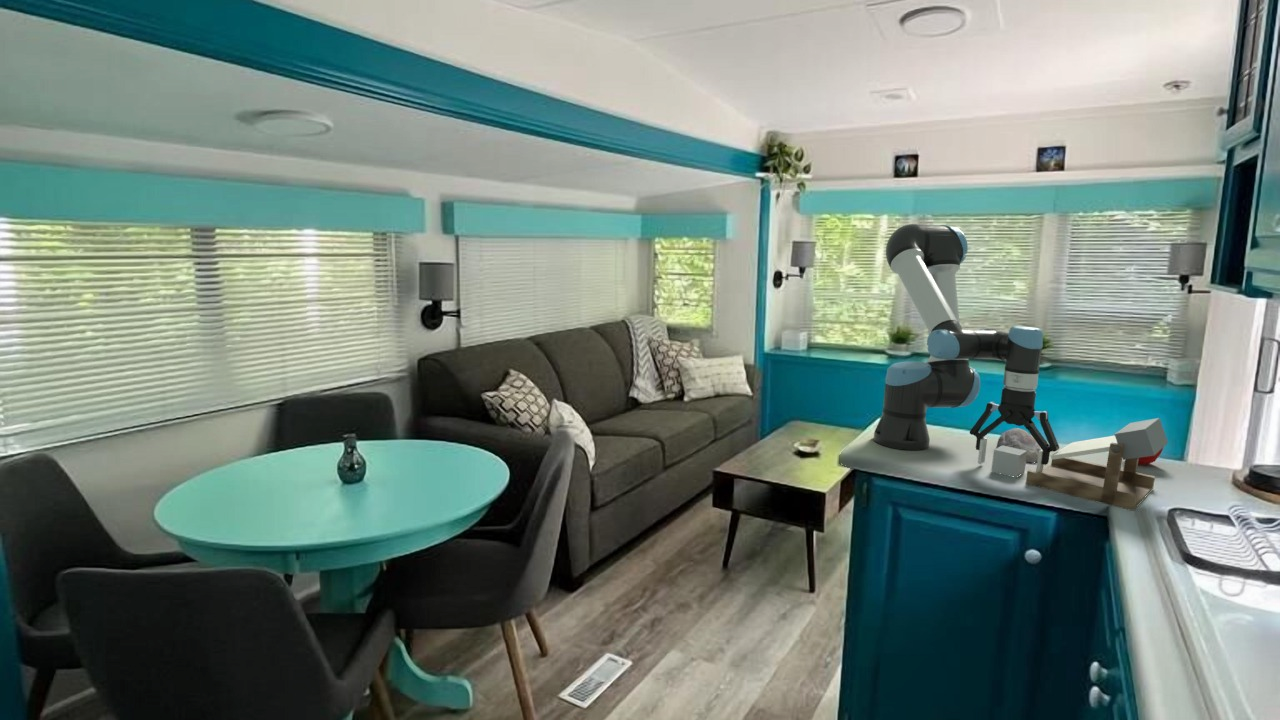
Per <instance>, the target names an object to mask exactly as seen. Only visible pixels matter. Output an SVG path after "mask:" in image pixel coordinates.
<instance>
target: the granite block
mask: <svg viewBox="0 0 1280 720" xmlns="http://www.w3.org/2000/svg"><path fill="white" fill-rule="evenodd" d="M1026 458H1027V451H1026V450H1021V449H1017V448H1012V447H1008V446H1003V445H1002V446H1000V447H998V448H995V449H994V450H993V455H992V464H991V469H990V472H991V471H992V472H991V473H994V472H996V473H995V474H998V473H1001V474H1000V475H1002V474H1005V475H1004V476H1006V475H1010V476H1014V477H1017V476H1019V475H1020V474H1022V473H1024V474H1025V471H1026V464H1027V462H1026ZM1022 475H1023V474H1022ZM1010 476H1009V477H1010ZM1020 476H1021V475H1020ZM1020 476H1019V477H1020ZM1014 477H1013V478H1014ZM1017 478H1018V477H1017Z"/></svg>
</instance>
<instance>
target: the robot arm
mask: <svg viewBox="0 0 1280 720" xmlns="http://www.w3.org/2000/svg"><path fill="white" fill-rule="evenodd" d="M968 249H969V247H968V240H967V238H966V235H965V234H964V232H963V231H962V230H961V229H959V228H958V227H956V226H950V225H947V224H940V225H938V224H935V225H934V224H916V223H910V224H905V225H902V226H900V227H898V228H897V229H896V230H894V232H892V234H891V235H890V236H889V238H888V240H887V243H886V248H885V257H886V261H887V264H888V266H889V267H890V270H891V271H892V273H894V274H896V275H898V276H899V278H900V280H901V282H902V284H903V286H904V288H905V289H906V291H907V293H908V295H909V297H910V298H911V300H912V302H913V304H914V306H915V308H916V309H917V312H918V314H919V316H920V317H921V318H922V321H923V323H924V325H925V326H926V329H927V331H928V333H927V334H928V337H927V338H926V345H927V351H928V353H929V354H930V356H929V358H928V359H927V360H926V361H925V362H924V361H899V362H895V363H893V364H891V365H890V366H889V367H887V370H886V376H885V379H884V382H885V386H884V395H883V403H882V404H883V405H882V414H881V416H880V419H879V420H878V423H877V426H876V427H875V430H874V432H873V440H874V442H875V443H877V444H879V445H881V446H884V447H887V448H888V447H889V448H891V449H892V448H893V449H898V450H905V451H920V450H927V449H929V446H930V435H929V431H928V426H927V421H926V418H927V417H926V415H927V409H928V408H929V409H930V408H951V409H955V408H958V407H967V406H969V405H971V404H972V403H973V402H974V401H975V399H976V398H977V397H978V395H979V393H980V391H981V390H980V389H981V378H980V374H979V373H978V372H977V370H976V369H975V368H973V367H972V366H970V362H969V361H970V360H997V361H1002V362H1005V365H1004V371H1003V373H1004V374H1003V382H1002V385H1003V386H1004V387H1002V390H1001V397H1000V398H1001V399H1000V404H998V403H997V404H996V403H995V401H990V402H988V403H987V404H986V406H985V410H984V412H982V414H981V416H980V417H979V418H978V420H977V421H976V422H975V424H974V425H973V426H972V428H971V429H970V430H969V434H970V435H972V436H974V437H975V438H976V441H975V443H976V444H975V450H976V451H978V457H977V464H979V465H982V464H984V463H985V460H986V453H987V445H988V437H985V436H987V435H988V434H989V433H990V432H992V431H993V430H995V429H996V428H998V426H1000V425H1001V424H1003V423H1004V422H1005V423H1006V424H1007V425H1015V426H1018V427H1021V426H1024V428H1025V429H1026V430H1027V432H1028V433H1029V434H1030V435H1032V436H1033V438H1034V439H1035V440H1036V442H1037V443H1038V445H1039V446H1040V449H1041V451H1039V454H1038V461H1037V464H1036V468H1035V469H1036V470H1035V471H1037V472H1041V473H1042V472H1043V469H1044V466H1046V465H1048V464H1049V461H1050V456H1051V455H1050V454H1051V452H1052V453H1053V452H1054V453H1056V452H1057V451H1059V450H1060V446H1059V445H1060V444H1059V442H1058V440H1057V437H1056V435H1055V433H1054V431H1053V428H1052V426H1051V423H1050V421H1049V412H1048V411H1047V410H1043V411H1036V409H1035V405H1036V397H1037V392H1036V390H1037V388H1038V382H1039V381H1038V380H1039V373H1040V365H1041V364H1040V363H1041V357H1042V351H1043V347H1044V343H1043V342H1044V341H1043V340H1044V331H1043V330H1042V329H1041V328H1038V327H1032V326H1021V325H1018V326H1017V325H1015V326H1011V327H1010V328H1009V330H1008V331H1009V332H1007V331H1003V330H998V329H995V328H979V330H977V329H974V330H973V329H972V330H971V329H963V327H962V326H961V324H960V314H959V301H958V291H957V281H956V274H957V272H958V271H960V269H961V264H962V263H964V261H965V259H966V258H967V257H966V255H967V254H968ZM996 411H998V412H999V414H1000V416H999V417H998V418H996V419H995V420H994V421H992V422H991V423H990V424H989V425H988V426H986V427H985V428H984V429H983V430H981V428H982V427H983V426H984V424H985V423H986V422H987V421H988V419H989V417H990V416H991V415H992V413H993V412H996ZM1034 417H1036V419H1037V420H1039V423H1040V426H1041V428H1042V430H1043V433H1044V435H1045V437H1044V436H1043V434H1042V433H1041V431H1039V429H1038V428H1037V426H1036V424H1035V423H1034V421H1033V420H1032V419H1033V418H1034ZM980 430H981V431H980Z"/></svg>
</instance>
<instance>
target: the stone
mask: <svg viewBox="0 0 1280 720" xmlns="http://www.w3.org/2000/svg"><path fill="white" fill-rule="evenodd" d="M996 443H997V444H996V448H998V447H1000V446H1002V445H1003V446H1008V447H1012V448H1017V449H1021V450H1026V451H1027V458H1026V463H1027V462H1031V463H1030V464H1032V463H1034V462H1035V463H1037V461H1038V454H1039V451H1041V450H1042V449H1041V447H1040V446H1039V445H1038V443H1037V442H1036V440H1035V439H1034V438H1033V436H1032V435H1031V434H1030V433H1029V431H1028V430H1027V431H1026V430H1025V429H1022V428H1019V427H1017V428H1016V427H1013V428H1011V429H1008V430H1006V431H1004V432H1002V433H1001V434H1000V436H999V437H998V440H997V442H996ZM996 448H995V449H996Z"/></svg>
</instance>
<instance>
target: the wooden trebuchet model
mask: <svg viewBox="0 0 1280 720" xmlns="http://www.w3.org/2000/svg"><path fill="white" fill-rule="evenodd" d="M1123 451H1124V445H1122V444H1117V443H1110V448H1109V451H1108V454H1107V462H1106V465H1104V464H1101V463H1095V462H1090V461H1086V460H1081V459H1078V458H1073V457H1067V458H1060V459H1054V460H1052V459H1051V462H1050V463H1051V464H1049V465H1048V466H1046V467H1044V468H1043V472H1042V473H1041V472H1037V471H1036V470H1033V469H1028V470H1027V472H1026V479H1025V484H1026V483H1027V485H1029V486H1032V487H1033V486H1034V487H1037V488H1042V489H1046V490H1050V491H1053V492H1057V493H1061V494H1064V495H1066V494H1067V495H1069V496H1074V497H1077V498H1081V499H1087V500H1089V501H1093V502H1097V503H1102V504H1105V505H1109V506H1114V507H1118V508H1121V507H1122V509H1125V510H1128V509H1129V511H1133V512H1134V511H1135V509H1137V508H1138V506H1139V505H1140V504H1141V503H1142V502H1143V501H1144V499H1145V498H1146V497H1147V496H1148V495H1149V494H1150V493H1151V492H1152V491H1153V490H1154V484H1155V479H1156V476H1155V475H1150V474H1145V473H1141V472H1137V471H1138V460H1139V458H1133V459H1126V460H1124V465H1123V468H1121V467H1122V462H1123V458H1122V457H1123ZM1152 489H1153V490H1152ZM1151 490H1152V491H1151ZM1150 491H1151V492H1150ZM1149 492H1150V493H1149ZM1148 493H1149V494H1148ZM1147 494H1148V495H1147ZM1146 495H1147V496H1146ZM1145 496H1146V497H1145ZM1142 500H1143V501H1142ZM1141 501H1142V502H1141ZM1140 502H1141V503H1140ZM1139 503H1140V504H1139ZM1138 504H1139V505H1138ZM1137 505H1138V506H1137Z"/></svg>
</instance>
